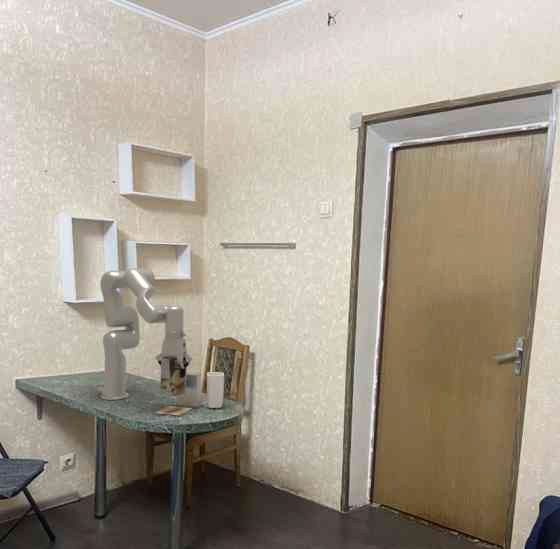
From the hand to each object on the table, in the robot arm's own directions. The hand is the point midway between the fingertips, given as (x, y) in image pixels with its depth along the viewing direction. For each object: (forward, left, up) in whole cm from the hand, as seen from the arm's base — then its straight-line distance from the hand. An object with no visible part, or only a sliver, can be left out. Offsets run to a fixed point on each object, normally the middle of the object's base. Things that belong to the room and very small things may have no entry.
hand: (173, 376), depth 206 cm
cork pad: (0, 0, -15) cm, 15 cm away
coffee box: (0, 0, -8) cm, 8 cm away
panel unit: (+2, +11, -15) cm, 18 cm away
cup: (+14, +13, -15) cm, 24 cm away
